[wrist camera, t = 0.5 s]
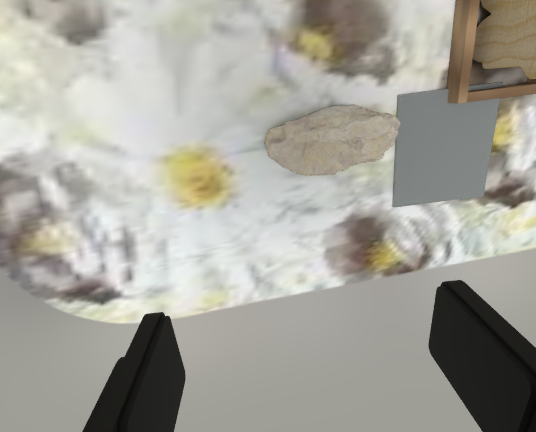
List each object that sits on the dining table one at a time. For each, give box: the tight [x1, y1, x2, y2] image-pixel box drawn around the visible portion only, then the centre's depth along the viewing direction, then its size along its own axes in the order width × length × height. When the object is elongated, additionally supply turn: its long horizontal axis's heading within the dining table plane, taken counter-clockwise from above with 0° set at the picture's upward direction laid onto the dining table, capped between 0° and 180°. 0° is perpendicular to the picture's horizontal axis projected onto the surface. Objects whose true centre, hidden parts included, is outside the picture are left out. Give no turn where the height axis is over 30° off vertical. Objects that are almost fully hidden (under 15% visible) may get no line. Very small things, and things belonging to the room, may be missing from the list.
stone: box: [265, 105, 400, 176], centre depth 34 cm, size 8×12×10 cm, turn 97°
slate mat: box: [393, 82, 503, 207], centre depth 38 cm, size 14×12×1 cm
